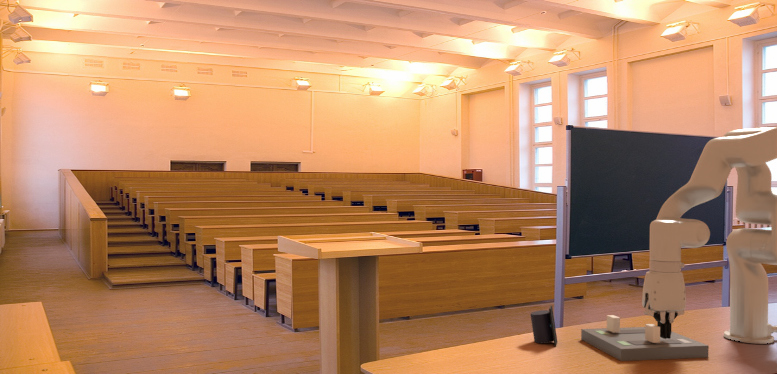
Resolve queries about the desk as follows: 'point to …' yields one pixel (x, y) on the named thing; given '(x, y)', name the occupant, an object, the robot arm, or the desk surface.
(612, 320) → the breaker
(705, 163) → the robot arm
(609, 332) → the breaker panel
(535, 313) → the speaker
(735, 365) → the desk surface
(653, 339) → the block
